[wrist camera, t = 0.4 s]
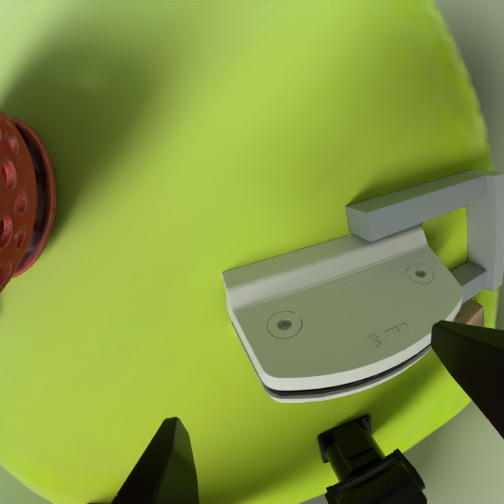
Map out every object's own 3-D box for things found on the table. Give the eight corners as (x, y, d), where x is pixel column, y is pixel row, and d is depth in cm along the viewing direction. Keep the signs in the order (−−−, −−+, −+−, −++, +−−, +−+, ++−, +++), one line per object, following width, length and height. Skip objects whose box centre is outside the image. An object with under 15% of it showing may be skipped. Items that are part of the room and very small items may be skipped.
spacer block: (462, 322, 28) (484, 337, 24) (433, 349, 28) (454, 367, 24) (458, 292, 26) (483, 306, 23) (427, 320, 26) (451, 337, 23)
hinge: (413, 215, 23) (494, 291, 15) (405, 258, 25) (471, 334, 18) (216, 273, 21) (252, 404, 13) (230, 317, 24) (264, 431, 16)
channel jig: (477, 272, 26) (502, 284, 22) (362, 332, 25) (386, 356, 21) (474, 169, 23) (504, 173, 19) (345, 206, 21) (374, 215, 17)
